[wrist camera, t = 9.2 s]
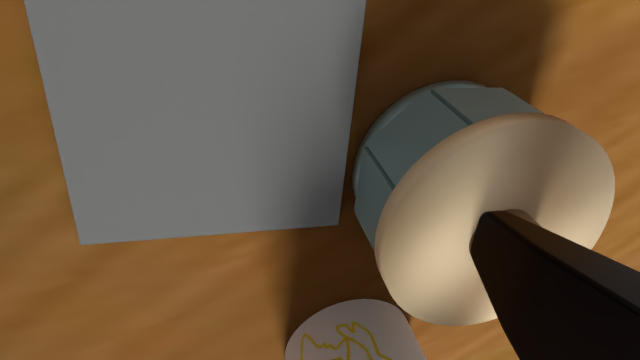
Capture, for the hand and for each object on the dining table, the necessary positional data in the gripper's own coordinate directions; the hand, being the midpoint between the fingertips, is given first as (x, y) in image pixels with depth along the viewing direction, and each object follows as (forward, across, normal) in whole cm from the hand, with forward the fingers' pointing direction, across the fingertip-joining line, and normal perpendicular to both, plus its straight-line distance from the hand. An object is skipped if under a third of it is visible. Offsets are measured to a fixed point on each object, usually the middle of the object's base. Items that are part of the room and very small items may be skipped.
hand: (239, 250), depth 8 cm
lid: (+8, -11, +6) cm, 14 cm away
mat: (+12, 0, +3) cm, 13 cm away
